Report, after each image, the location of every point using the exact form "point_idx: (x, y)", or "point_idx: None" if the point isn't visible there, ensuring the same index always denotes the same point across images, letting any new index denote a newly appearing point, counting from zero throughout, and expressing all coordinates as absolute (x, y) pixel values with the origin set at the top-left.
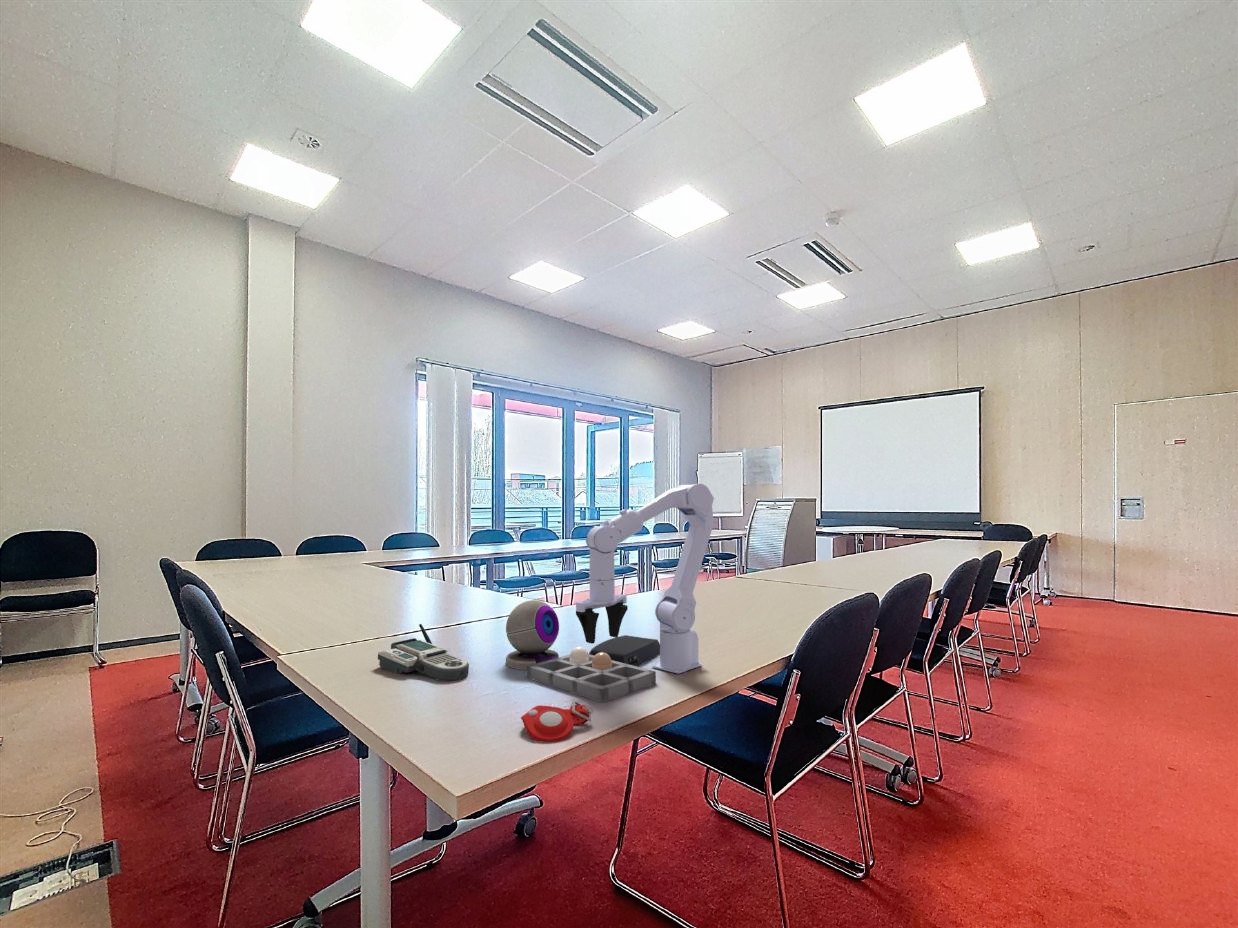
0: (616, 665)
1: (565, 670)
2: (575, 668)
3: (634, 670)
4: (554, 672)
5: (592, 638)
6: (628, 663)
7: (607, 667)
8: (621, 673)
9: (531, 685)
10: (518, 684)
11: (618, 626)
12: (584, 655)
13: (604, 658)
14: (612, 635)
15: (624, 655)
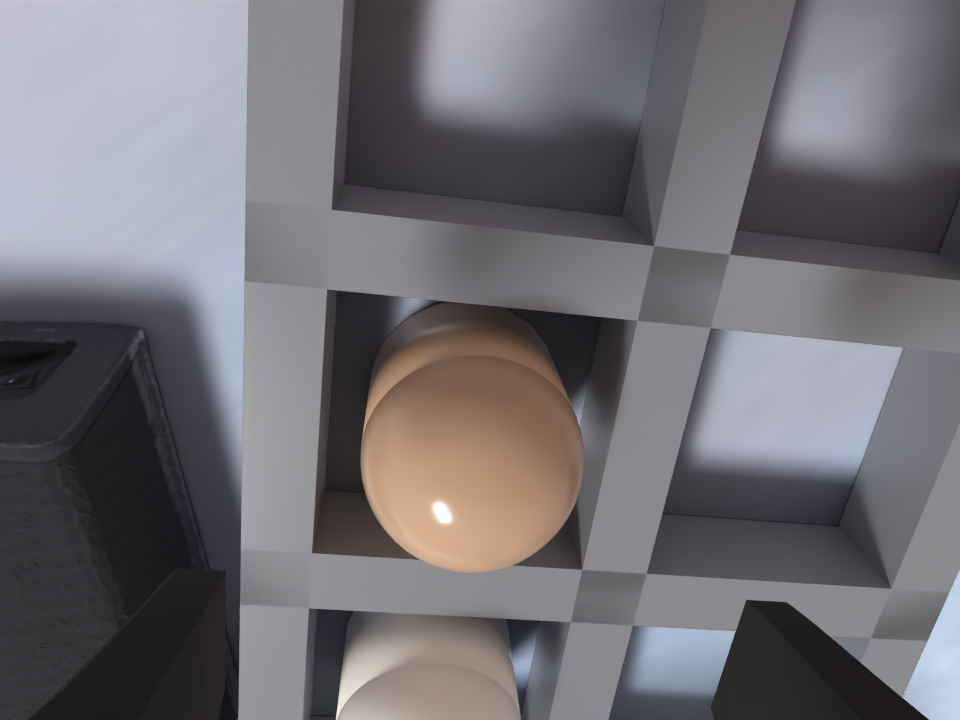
0: (325, 345)
1: (805, 583)
2: (679, 571)
3: (342, 50)
4: (896, 612)
5: (844, 654)
6: (54, 362)
7: (506, 345)
8: (410, 202)
9: (936, 642)
10: (950, 710)
11: (130, 695)
12: (452, 687)
13: (530, 420)
14: (221, 652)
15: (51, 437)
